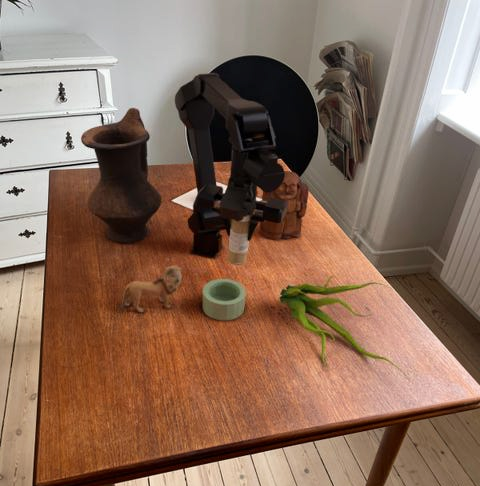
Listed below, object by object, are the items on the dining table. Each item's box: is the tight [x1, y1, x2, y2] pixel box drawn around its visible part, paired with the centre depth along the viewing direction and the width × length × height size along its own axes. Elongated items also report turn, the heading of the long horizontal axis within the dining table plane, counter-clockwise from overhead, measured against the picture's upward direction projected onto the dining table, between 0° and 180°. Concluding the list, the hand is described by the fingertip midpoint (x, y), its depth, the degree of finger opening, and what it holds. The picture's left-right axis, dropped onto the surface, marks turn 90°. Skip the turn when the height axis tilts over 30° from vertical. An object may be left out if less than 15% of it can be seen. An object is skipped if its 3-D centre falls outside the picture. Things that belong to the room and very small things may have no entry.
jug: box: [80, 107, 163, 244], centre depth 125 cm, size 21×18×30 cm
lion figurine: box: [117, 264, 183, 313], centre depth 108 cm, size 15×5×9 cm, turn 116°
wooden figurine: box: [259, 170, 310, 241], centre depth 133 cm, size 12×6×18 cm, turn 101°
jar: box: [201, 278, 247, 321], centre depth 111 cm, size 9×9×4 cm
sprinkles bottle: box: [227, 215, 252, 266], centre depth 111 cm, size 5×5×14 cm
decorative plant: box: [279, 275, 410, 380], centre depth 101 cm, size 18×30×15 cm, turn 13°
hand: (239, 237), depth 111 cm, fingers closed on sprinkles bottle, 4 cm apart
